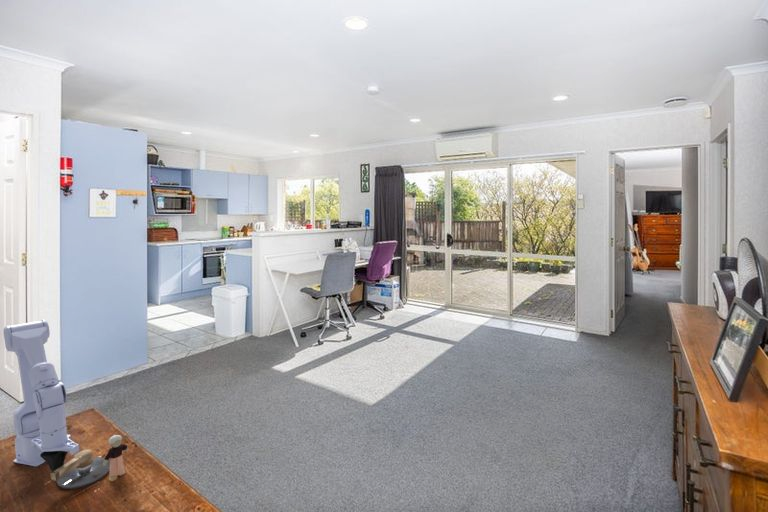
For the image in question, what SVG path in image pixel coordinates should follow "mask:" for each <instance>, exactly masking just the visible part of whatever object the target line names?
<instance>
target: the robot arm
mask: <svg viewBox="0 0 768 512" xmlns="http://www.w3.org/2000/svg"><path fill="white" fill-rule="evenodd" d="M50 333H51V332H50V326H49V322H48V321H47V320H46V319H40V320H37V321H29V322H26V323H25V322H24V323H19V324H12V325H5V327H4V328H3V339H4V345H5V349H6V351H7V352H11V353H13V352H14V353H15V355H16V357H17V362H18V370H19V376H20V382H21V383H20V384H21V390H22V391H21V392H22V398H23V403H22V404H21V405H20V406H18V407H17V408H16V409H15V410H14V412H13V426H14V427H13V428H14V431H15V435H16V437H15V439H14V449H15V450H14V451H15V459H13V463H16V464H22V465H25V466H26V465H28V466H31V467H39V466H40V465H42V464H44V463H46V464H47V466H48V467H49V469H50V471H51V472H50V473H52V472H53V471H55V470H56V469H58V468H59V467H61V466H63V465H64V464H65V460H66V457H67V455H68V453H69V454H70V455H73V456H74V455H75V454H77V453H78V452H80V444H79V443H76V442H74V441H73V440H71V437H72V435H71V434H68V430H67V429H68V428H67V421H66V411H65V403H67V399H68V397H67V390H66V387H65V384H64V383H63V382H62V379H59V377H58V374H57V372H56V369H55V365H54V364H52V363H51V362H48V360H47V355H46V351H45V346H44V344H46V343H48V340H49V338H50Z"/></svg>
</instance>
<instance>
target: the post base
mask: <svg viewBox="0 0 768 512" xmlns="http://www.w3.org/2000/svg"><path fill="white" fill-rule="evenodd" d="M104 458H105V457H93V462H92V464H90V465H89V466H86V467H84V468H74V469H73V470H71V471H70V472H68V473H67V474H65V475H64V476H62V477H61V478H60V479H58V480H57V481H56V484H57V486H58V487H59V488H60V489H64V490H75V489H79V488H80V489H81V488H83V487H88V486H89V485H93V484H94V483H96V482H98V481H100V480H101V479H103V478H105V477H106V476H107V475H109V467H110V459H109V460H108V462H107V465H106V466H103V465H102V464H103V463H104ZM106 474H107V475H106Z"/></svg>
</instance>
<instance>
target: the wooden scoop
mask: <svg viewBox="0 0 768 512" xmlns="http://www.w3.org/2000/svg"><path fill="white" fill-rule="evenodd" d="M93 455H94V454H93V450H92V449H84V450H83V449H82V450H79V451H78V452H76V453H75V454H73V458H72V459H70V460H69V461H67V462H66V463H64V464H63V466H61V467H59V468H58V469H56V470H55V471H53V472H50V480H51V481H55V482H57V480H58V479H60V478H61V477H62V476H64V475H65V474H67V473H68V472H70V471H71V470H73V469H74V468H84V467H86V466H89V465H90V464H92V462H93V458H94V456H93Z"/></svg>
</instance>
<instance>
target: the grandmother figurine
mask: <svg viewBox="0 0 768 512" xmlns="http://www.w3.org/2000/svg"><path fill="white" fill-rule="evenodd" d="M122 440H123V437H122V435H120V434H113V435H112V436H111V437H110V438H109V439H108V444H109V445H110V446H111V448H109V450H108V451H107V453H106V455H105V456H104V457H103V458H104V463H103V464H102V465H103V466H106V465H107V462H108V460H110V467H109V472H108V475H109V476H108V480H109V481H110V482H115V481H116V480H118V477H121V476H124V475H125V474H126V471H125V466H124V459H123V458H124V457H123V451H125V453H129V452H130V448H129V447H128V445H126V444H125V443H124V444H123V443H122Z"/></svg>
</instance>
